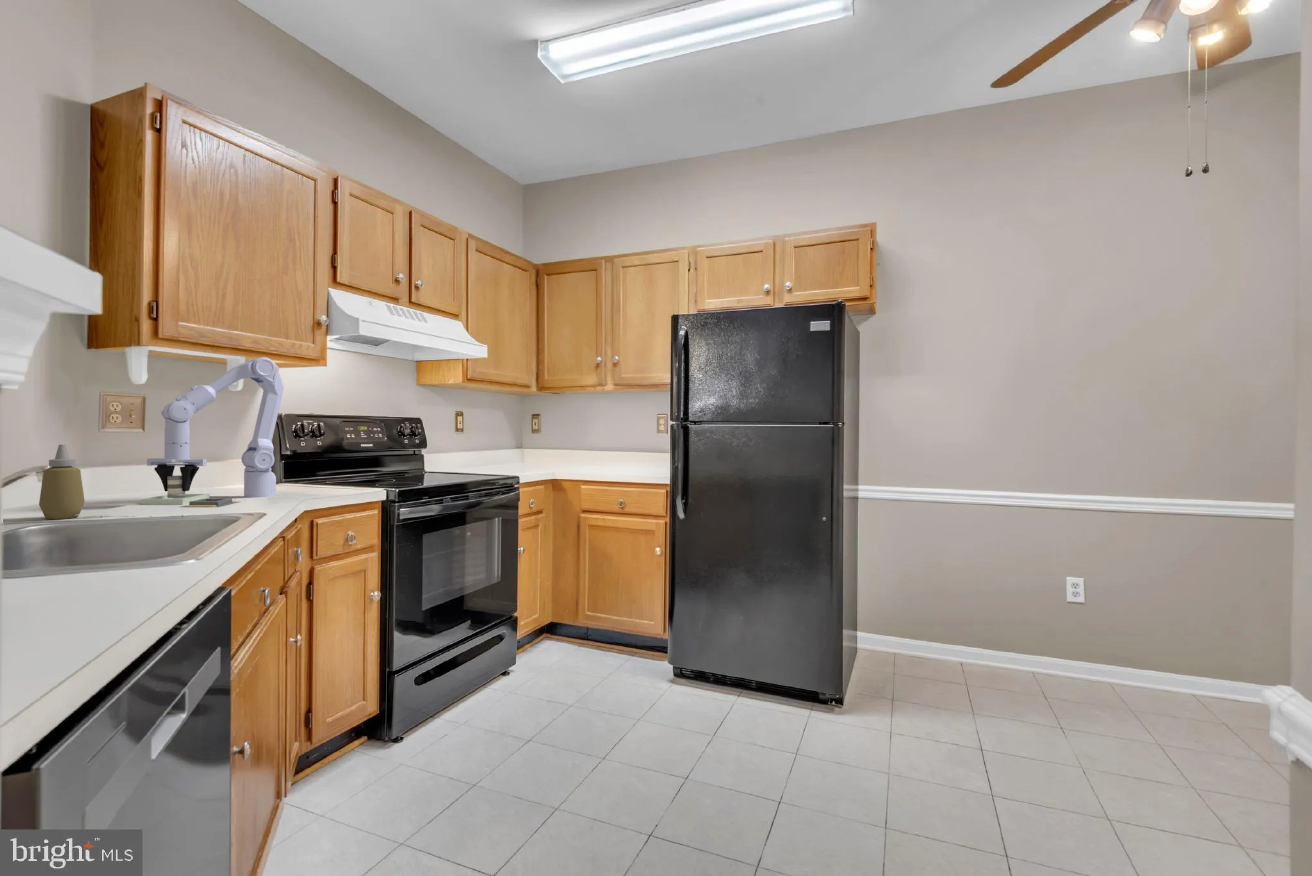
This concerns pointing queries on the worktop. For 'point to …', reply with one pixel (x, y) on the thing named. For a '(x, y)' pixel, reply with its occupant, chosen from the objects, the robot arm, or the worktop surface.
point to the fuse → (175, 487)
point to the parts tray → (173, 499)
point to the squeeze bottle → (61, 488)
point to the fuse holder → (211, 502)
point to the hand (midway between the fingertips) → (177, 491)
